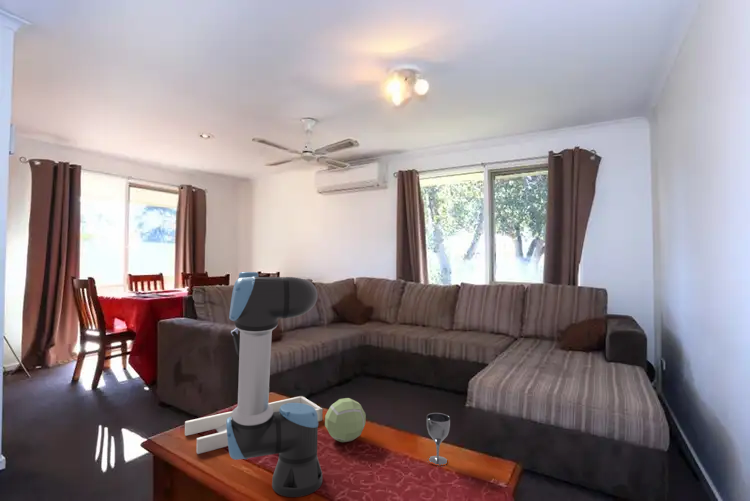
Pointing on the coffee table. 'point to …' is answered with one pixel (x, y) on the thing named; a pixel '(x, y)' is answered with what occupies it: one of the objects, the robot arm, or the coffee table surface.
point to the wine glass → (438, 433)
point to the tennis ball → (345, 420)
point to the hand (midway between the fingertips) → (246, 372)
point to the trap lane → (220, 425)
